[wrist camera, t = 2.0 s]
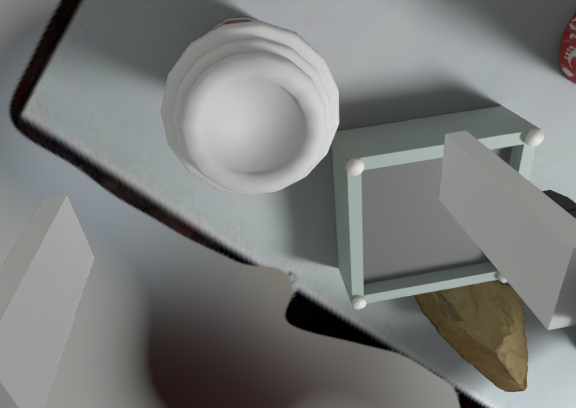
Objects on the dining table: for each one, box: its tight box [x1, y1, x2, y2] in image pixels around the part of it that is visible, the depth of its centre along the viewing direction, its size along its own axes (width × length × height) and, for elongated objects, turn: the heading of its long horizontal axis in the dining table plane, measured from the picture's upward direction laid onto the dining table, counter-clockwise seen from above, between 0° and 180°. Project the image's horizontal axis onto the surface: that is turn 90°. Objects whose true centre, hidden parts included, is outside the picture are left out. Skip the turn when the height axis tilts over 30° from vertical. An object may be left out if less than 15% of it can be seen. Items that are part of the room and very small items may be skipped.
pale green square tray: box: [331, 106, 544, 309], centre depth 37 cm, size 14×14×5 cm
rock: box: [415, 281, 528, 392], centre depth 44 cm, size 11×9×10 cm
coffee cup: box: [161, 17, 339, 195], centre depth 26 cm, size 9×9×12 cm
